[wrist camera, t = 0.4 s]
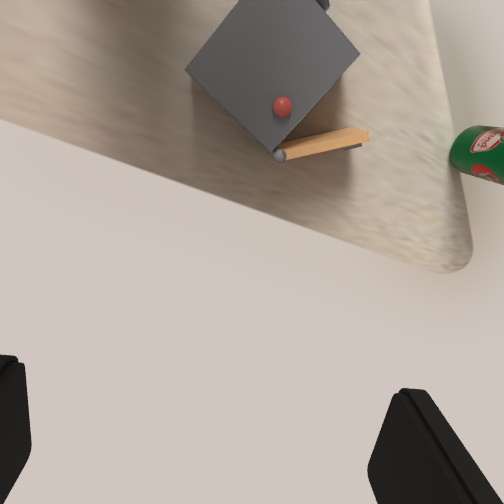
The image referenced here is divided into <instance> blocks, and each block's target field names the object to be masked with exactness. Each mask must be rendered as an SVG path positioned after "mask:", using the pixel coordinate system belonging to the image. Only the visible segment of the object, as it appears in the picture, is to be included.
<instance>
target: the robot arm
mask: <svg viewBox="0 0 504 504" xmlns="http://www.w3.org/2000/svg"><path fill="white" fill-rule="evenodd" d="M31 445H32V444H31V432H30V420H29V408H28V396H27V385H26V373H25V365H24V364H23V363H19V362H18V358H17V357H16V356H10V355H0V504H3V503H4V502H5V500H6V498H7V496H8V495H9V493H10V491H11V489H12V487H13V486H14V484H15V482H16V480H17V479H18V477H19V475H20V473H21V471H22V470H23V468H24V466H25V464H26V462H27V460H28V458H29V455H30V452H31ZM367 471H368V478H369V482H370V484H371V487H372V490H373V492H374V495H375V498H376V501H377V503H378V504H503V502H502V501H501V499H500V498H499V496H498V495H497V494H496V492H495V491H494V489H493V488H492V486H491V485H490V483H489V482H488V480H487V479H486V477H485V476H484V474H483V473H482V471H481V470H480V469H479V467H478V466H477V464H476V463H475V461H474V460H473V458H472V457H471V455H470V454H469V452H468V451H467V450H466V448H465V447H464V445H463V444H462V442H461V441H460V439H459V438H458V436H457V435H456V433H455V432H454V430H453V429H452V427H451V426H450V425H449V423H448V422H447V420H446V419H445V417H444V416H443V414H442V413H441V411H440V410H439V408H438V407H437V406H436V404H435V403H434V401H433V400H432V398H431V397H430V395H429V394H428V393H427V392H426V391H425V390H421V389H409V388H402V389H401V390H400V391H399V393H396V394H394V395H393V397H392V400H391V402H390V405H389V408H388V411H387V413H386V416H385V419H384V422H383V424H382V428H381V430H380V433H379V436H378V438H377V441H376V444H375V447H374V450H373V452H372V455H371V458H370V460H369V463H368V469H367Z"/></svg>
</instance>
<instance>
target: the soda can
mask: <svg viewBox="0 0 504 504" xmlns="http://www.w3.org/2000/svg"><path fill="white" fill-rule="evenodd" d="M451 161H452V163H453V165H454V167H455V168H456V169H457V170H458V171H460V172H462V173H465V174H469V175H472V176H475V177H479V178H482V179H485V180H488V181H492V182H495V183H499V184H502V185H504V128H500V127H490V126H473V127H470V128H468V129H466V130H464V131H463V132H462V133H461V134H460V135H459V136H458V137H457V138H456V140H455V142H454V144H453V146H452V149H451Z"/></svg>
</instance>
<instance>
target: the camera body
mask: <svg viewBox="0 0 504 504" xmlns="http://www.w3.org/2000/svg"><path fill="white" fill-rule="evenodd" d="M329 6H330V4H329V0H239V1H238V3H237V4H236V5H235V6H234V8H233V9H232V10H231V11H230V13H229V14H228V15H227V17H226V18H225V19H224V20H223V22H222V23H221V24H220V26H219V27H218V28H217V29H216V31H215V32H214V33H213V34H212V36H211V37H210V38H209V40H208V41H207V42H206V43H205V45H204V46H203V47H202V48H201V50H200V51H199V52H198V54H197V55H196V56H195V57H194V59H193V60H192V61H191V62H190V64H189V65H188V66H187V68H186V69H185V71H186V72H187V73H188V74H189V75H190V76H191V77H192V78H194V79H195V80H196V81H197V82H198V83H199V84H200V85H201V86H202V87H203V88H204V89H205V90H206V91H207V92H208V93H209V94H210V95H211V96H212V97H213V98H214V99H215V100H216V101H217V102H218V103H219V104H220V105H222V106H223V107H224V108H225V109H226V110H227V111H228V112H229V113H230V114H231V115H232V116H233V117H234V118H235V119H236V120H237V121H238V122H239V123H240V124H241V125H242V126H243V127H244V128H245V129H246V130H247V131H249V132H250V133H251V134H252V135H253V136H254V137H255V138H256V139H257V140H258V141H259V142H260V143H261V144H262V145H263V146H264V147H265V148H266V149H267V150H268V151H269V152H270V153H271V152H272V151H273V150H274V149H275V147H276V146H277V145H279V144H280V143H281V142H282V141H283V139H284V138H285V137H286V136H287V135H288V134H289V133H290V132H291V131H292V130H293V129H294V127H295V126H296V125H297V124H298V123H299V122H300V121H301V120H302V119H303V118H304V116H305V115H306V114H307V113H308V112H309V111H310V110H311V109H312V108H313V107H314V105H315V104H316V103H317V102H318V101H319V100H320V99H321V98H322V97H323V96H324V94H325V93H326V92H327V91H328V90H329V89H330V88H331V87H332V86H333V85H334V83H335V81H336V80H337V79H338V78H339V77H340V76H341V75H342V74H343V73H344V72H345V70H346V69H347V68H348V67H349V66H350V65H351V64H352V63H353V62H354V61H355V59H356V58H357V57H358V56H359V55H360V53H359V51H358V50H357V49H356V48H355V47H354V46H353V44H352V43H351V42H350V41H349V40H348V38H347V37H346V36H345V35H344V34H343V32H342V31H341V30H340V29H339V28H338V27H337V25H336V24H335V23H334V22H333V21H332V19H331V18H330V17H329V16H328V15H327V14H326V11H327V10H328V8H329Z"/></svg>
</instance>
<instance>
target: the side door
mask: <svg viewBox="0 0 504 504" xmlns="http://www.w3.org/2000/svg"><path fill="white" fill-rule="evenodd" d="M368 141H369V134H368V131H366V130H361V129H356V128H351V127H348V128H344V129H339V130H335V131H331V132H326V133H322V134H318V135H313V136H309V137H305V138H300V139H296V140H291V141H287V142H283V143H280V144H279V145H277V146H276V147H275V149H274V150H273V151H272V152H271V155H272V156H273V157H274V158H275V160H276V161H277V162H284V161H285V160H289V159H293V158H298V157H302V156H306V155H311V154H315V153H319V152H324V151H328V150H333V149H337V148H342V149H344V150H348V149H352V148H357V147H361V146H362V143H363V142H368Z"/></svg>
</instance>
